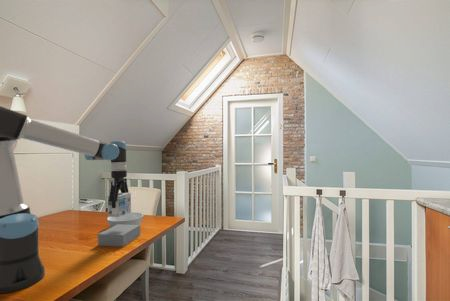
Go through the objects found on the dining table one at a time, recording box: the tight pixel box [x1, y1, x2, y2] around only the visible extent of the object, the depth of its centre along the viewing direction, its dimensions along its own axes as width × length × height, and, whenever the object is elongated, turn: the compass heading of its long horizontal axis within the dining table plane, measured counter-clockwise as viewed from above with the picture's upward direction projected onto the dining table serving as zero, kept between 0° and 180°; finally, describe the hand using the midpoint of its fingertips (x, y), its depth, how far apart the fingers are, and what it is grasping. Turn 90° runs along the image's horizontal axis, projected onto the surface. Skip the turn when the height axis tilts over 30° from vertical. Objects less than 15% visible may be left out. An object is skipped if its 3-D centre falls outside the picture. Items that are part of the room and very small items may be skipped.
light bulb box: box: [107, 192, 132, 218], centre depth 124 cm, size 11×7×11 cm, turn 169°
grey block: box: [97, 224, 141, 247], centre depth 124 cm, size 16×14×6 cm
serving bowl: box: [106, 211, 144, 228], centre depth 146 cm, size 21×21×7 cm
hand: (119, 211), depth 124 cm, fingers closed on light bulb box, 11 cm apart
